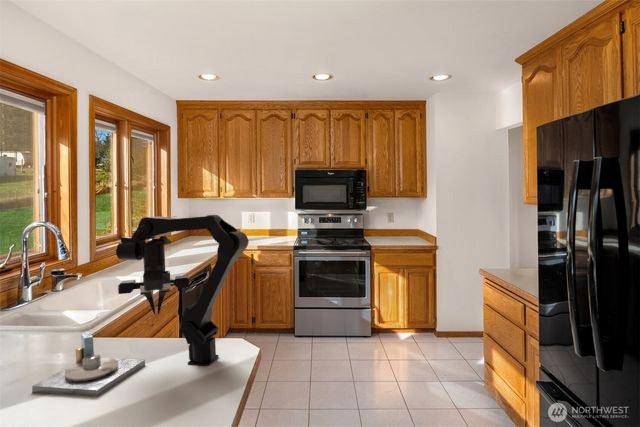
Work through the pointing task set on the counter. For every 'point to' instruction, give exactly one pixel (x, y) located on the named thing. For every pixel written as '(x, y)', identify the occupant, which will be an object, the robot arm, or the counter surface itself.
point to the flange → (90, 363)
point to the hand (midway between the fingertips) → (156, 313)
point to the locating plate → (88, 387)
